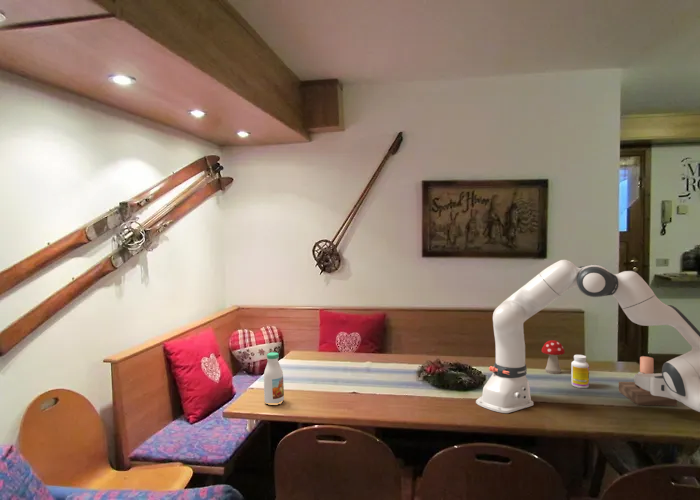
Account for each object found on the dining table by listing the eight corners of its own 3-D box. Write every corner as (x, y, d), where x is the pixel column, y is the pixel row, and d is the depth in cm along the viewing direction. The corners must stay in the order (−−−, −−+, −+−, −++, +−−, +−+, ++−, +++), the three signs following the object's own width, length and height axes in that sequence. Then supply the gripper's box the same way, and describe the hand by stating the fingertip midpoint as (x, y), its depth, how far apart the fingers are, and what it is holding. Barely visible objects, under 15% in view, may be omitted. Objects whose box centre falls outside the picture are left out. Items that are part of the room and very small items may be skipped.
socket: (676, 405, 165) (677, 395, 165) (637, 405, 167) (637, 394, 166) (655, 391, 179) (655, 382, 179) (618, 391, 180) (618, 381, 180)
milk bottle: (265, 407, 173) (263, 357, 172) (263, 400, 180) (262, 351, 179) (285, 404, 175) (283, 355, 174) (282, 397, 182) (281, 350, 181)
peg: (650, 401, 170) (651, 360, 169) (637, 398, 173) (638, 358, 172) (654, 398, 172) (655, 358, 172) (642, 395, 176) (642, 355, 175)
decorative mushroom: (560, 369, 209) (560, 338, 209) (567, 375, 201) (567, 342, 200) (539, 369, 210) (538, 338, 210) (545, 375, 202) (545, 342, 201)
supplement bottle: (591, 389, 184) (591, 358, 183) (573, 388, 185) (573, 358, 184) (585, 383, 190) (585, 354, 189) (569, 382, 191) (569, 353, 191)
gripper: (708, 377, 154) (681, 365, 168) (648, 378, 155) (625, 365, 169) (708, 395, 155) (680, 381, 168) (648, 395, 156) (625, 382, 169)
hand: (652, 373), depth 169 cm, fingers open, 8 cm apart
